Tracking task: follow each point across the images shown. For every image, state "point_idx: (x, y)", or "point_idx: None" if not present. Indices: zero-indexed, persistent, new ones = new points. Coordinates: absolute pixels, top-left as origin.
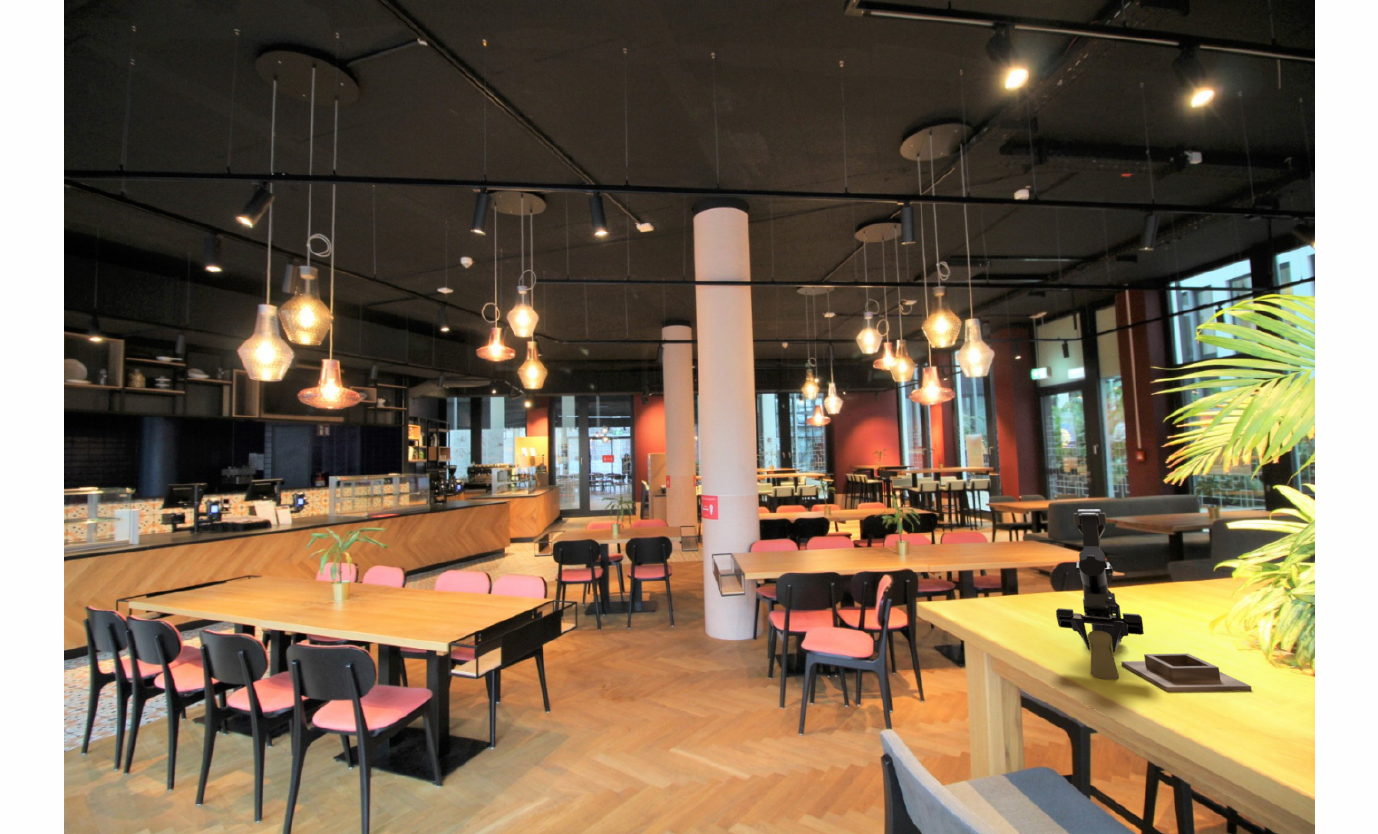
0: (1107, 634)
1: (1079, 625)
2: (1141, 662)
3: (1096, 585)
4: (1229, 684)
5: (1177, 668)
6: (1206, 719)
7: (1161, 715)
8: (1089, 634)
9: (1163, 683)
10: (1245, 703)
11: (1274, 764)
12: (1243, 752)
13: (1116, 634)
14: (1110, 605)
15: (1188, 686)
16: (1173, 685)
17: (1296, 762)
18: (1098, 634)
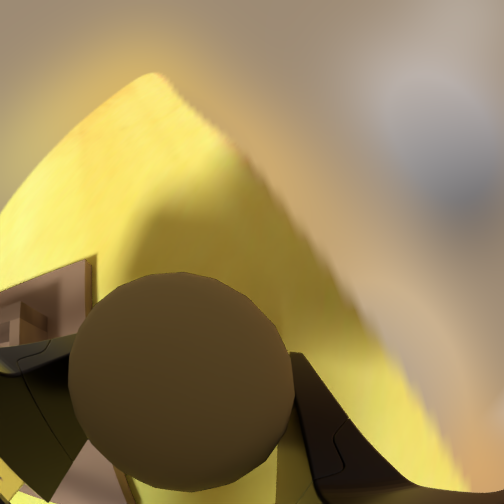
0: (93, 315)
1: (405, 490)
2: (73, 496)
3: None
4: None
5: (11, 305)
6: (118, 146)
7: (182, 135)
8: (281, 358)
9: (77, 289)
10: (16, 237)
11: (136, 87)
12: (146, 92)
13: (29, 351)
14: None
15: (41, 277)
16: (64, 277)
17: (113, 97)
18: (184, 290)
